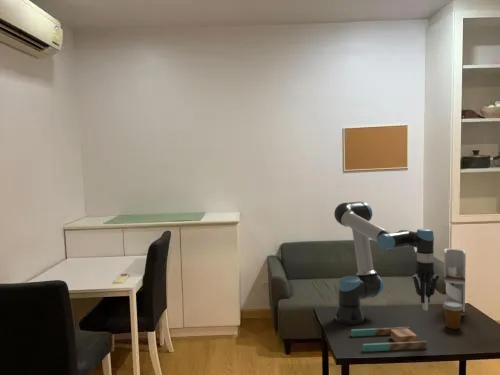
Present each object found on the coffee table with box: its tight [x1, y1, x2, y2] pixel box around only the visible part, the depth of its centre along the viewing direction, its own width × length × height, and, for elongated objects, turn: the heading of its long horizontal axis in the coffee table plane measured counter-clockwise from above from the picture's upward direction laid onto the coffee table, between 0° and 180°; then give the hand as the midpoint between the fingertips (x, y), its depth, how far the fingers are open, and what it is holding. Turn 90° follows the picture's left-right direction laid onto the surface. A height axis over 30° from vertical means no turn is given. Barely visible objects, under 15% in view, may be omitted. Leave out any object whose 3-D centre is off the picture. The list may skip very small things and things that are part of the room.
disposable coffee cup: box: [442, 301, 463, 330], centre depth 231 cm, size 10×10×12 cm
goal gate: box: [350, 327, 390, 353], centre depth 213 cm, size 12×19×3 cm, turn 5°
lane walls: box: [374, 326, 428, 351], centre depth 214 cm, size 18×19×3 cm
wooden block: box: [390, 328, 418, 342], centre depth 214 cm, size 9×9×4 cm
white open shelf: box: [443, 248, 467, 316], centre depth 253 cm, size 11×11×35 cm
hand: (425, 309), depth 214 cm, fingers closed
